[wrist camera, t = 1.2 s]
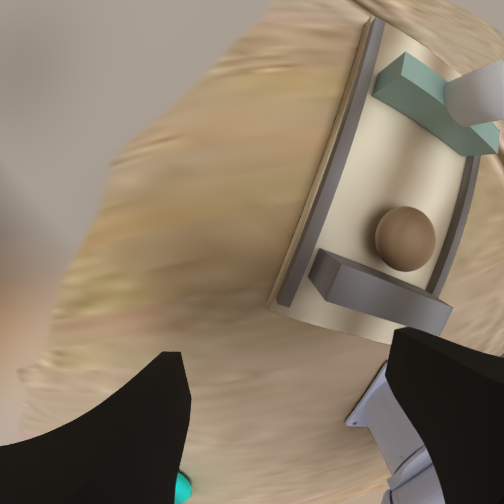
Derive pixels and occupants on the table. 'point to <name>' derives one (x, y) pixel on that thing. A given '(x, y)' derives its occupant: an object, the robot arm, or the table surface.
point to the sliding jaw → (447, 102)
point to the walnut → (405, 239)
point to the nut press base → (375, 208)
